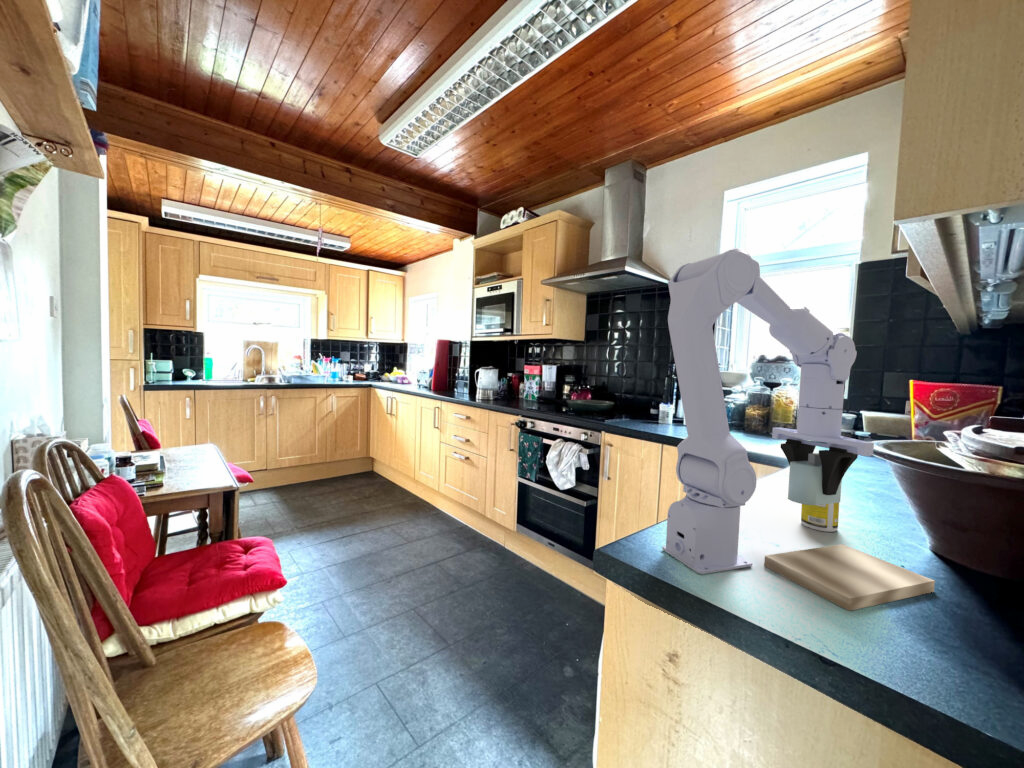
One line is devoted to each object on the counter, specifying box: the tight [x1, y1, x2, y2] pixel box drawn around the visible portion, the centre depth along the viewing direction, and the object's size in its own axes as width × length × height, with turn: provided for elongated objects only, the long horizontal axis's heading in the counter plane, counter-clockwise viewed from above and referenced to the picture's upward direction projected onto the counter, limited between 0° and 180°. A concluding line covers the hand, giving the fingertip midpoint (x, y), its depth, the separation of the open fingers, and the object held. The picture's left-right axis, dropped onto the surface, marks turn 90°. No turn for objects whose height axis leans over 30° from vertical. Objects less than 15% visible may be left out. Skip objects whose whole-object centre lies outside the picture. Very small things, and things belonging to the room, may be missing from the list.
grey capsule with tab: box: [787, 452, 843, 505], centre depth 65 cm, size 9×4×8 cm, turn 108°
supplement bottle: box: [800, 502, 840, 533], centre depth 73 cm, size 5×5×10 cm
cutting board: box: [763, 543, 936, 612], centre depth 55 cm, size 16×11×2 cm
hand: (814, 490), depth 65 cm, fingers closed on grey capsule with tab, 4 cm apart
